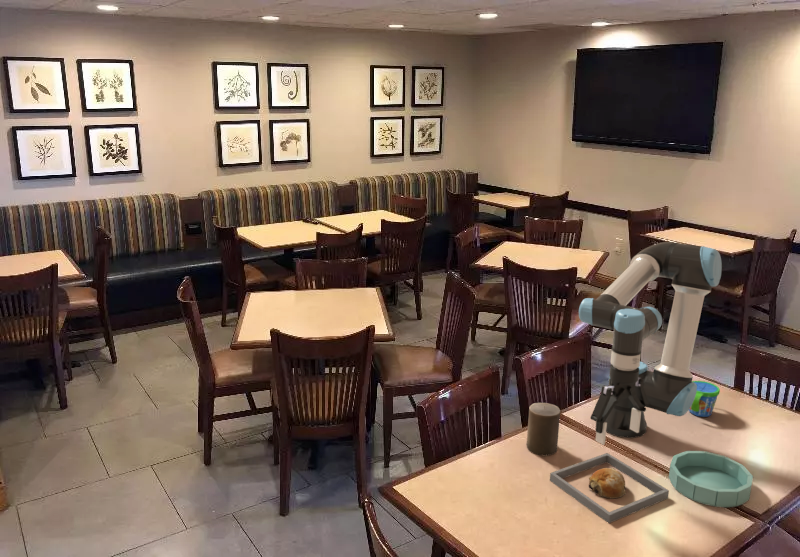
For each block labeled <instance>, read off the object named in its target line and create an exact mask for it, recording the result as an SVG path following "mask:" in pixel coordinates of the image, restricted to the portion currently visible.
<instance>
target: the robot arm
mask: <svg viewBox="0 0 800 557" xmlns="http://www.w3.org/2000/svg"><path fill="white" fill-rule="evenodd" d="M722 262H723V261H722V258H721V254H720V252H719V251H718V250H717V249H716V248H711V247H708V246H703V245H701V246H700V245H695V244H694V245H693V244H686V243H678V242H675V241H664V242H659V243H656V244H655V243H654V244H652V245H649V246H648V247H645V248H644V249H642V250H640V251H639V252H638V253H636V254H635V255H634V256H633V257H632V258H631V260H630V263H629V264H630V265H629V266H628V267H627V268H626V269H625V270H624V271H623V272H622V273H621V274H620V275H619V276H618V277H617V278H616V279H615V280H614V281H613V282H612V283H611V284H610V285H609V286H608V287H607V288H606V289H605V290H604V291H603V292H602V293H601V294H600V295H599V296H598V297H596V298H593V297H592V298H590V297H587V298H584V299H582V301H581V302H580V304H579V308H578V317H579V320H580V321H581V322H582V323H584V324H589V325H591V326H595V327H598V328H599V327H600V328H604V329H608V330H613V337H612V346H611V352H610V353H611V354H610V365H609V375H608V386H607V385H602V386H601V389H600V390H601V392H600V395H599V397H598V399H597V402H596V404H595V407H594V409H593V411H592V413H591V415H590V419H591V420H592V421H595V441H596V442H597V443H599V444H600V445H603V446H604V445H605V444H606V437H607V436H606V435H607V433H608V434H609V435H613V436H616V437H620V438H627V439H629V438H630V439H633V438H639V437H642V436H644V435H645V434H646V433H647V426H648V425H647V421H646V417H645V412H646V411H647V408H649V409H652V410H655V411H658V412H660V413H661V412H662V413H665V414H666V415H671V416H675V417H682V416H685V415H686V414H687V413H688V412H689V409H690V407H691V405H692V403H693V401H694V398H695V395H696V392H697V385H696V384H695V383H694V382H692V381H693V379H694V376H693V374H692V372H691V371H690V366H691V361H692V356H693V352H694V347H695V343H696V338H697V332H698V328H699V323H700V319H701V315H702V314H701V313H702V310H703V309H702V308H703V304H704V300H705V296H707V295H708V294H709V293H711V292H712V288H713V287H717V286H718V285H719V284H720V280H721V277H722V267H723V265H722ZM657 278H666V279H671V280H672V281H671V286H672V287H673V289H674V291H675V292H674V296H673V300H672V301H673V302H672V306H671V311H670V316H669V320H668V324H667V329H666V330H667V331H666V335H665V340H664V345H663V349H662V355H661V358H660V359H661V360H660V363H659V364H658V365H655V367H654V369H653V371H651V370H649V367H648V364H647V363H645V362H643V361H641V353H642V348H643V341H644V340H645V339H647V338H648V337H650V336H653V335H654V334H656V332H657V331H658V330H659V329H660V328H661V326H662V324H663V317H662V314H661V313H660V312H659V310H658V309H656V308H654V307H652V306H644V307H640V308H638V307H633V306H629V305H628V304H629V303H630V302H631V301H632V300H633V299H634V297H636V296H637V294H639V292H640V291H641V290H642V289H643V288H644V287H645V286H646V285H647V284H648V283H649V282H651V281H654V280H656V279H657Z"/></svg>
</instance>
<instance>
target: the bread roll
mask: <svg viewBox="0 0 800 557" xmlns="http://www.w3.org/2000/svg"><path fill="white" fill-rule="evenodd" d="M588 480H589V482H588V488H589V489H591V491H592V492H593V493H594V494H595V495H598V496H599V497H603V498H606V499H616V498H617V499H618V498H622V497H623V496H625V495H626V494H627V492H626V490H625V489H626V481H625V477H624V475H623V474H622V472H621V471H620V470H617V469H616V468H615V467H611V468H609V467H605V468H600V469H598V470H595V471H594V472H593V473H592V474H591V476H590V477H588Z"/></svg>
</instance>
